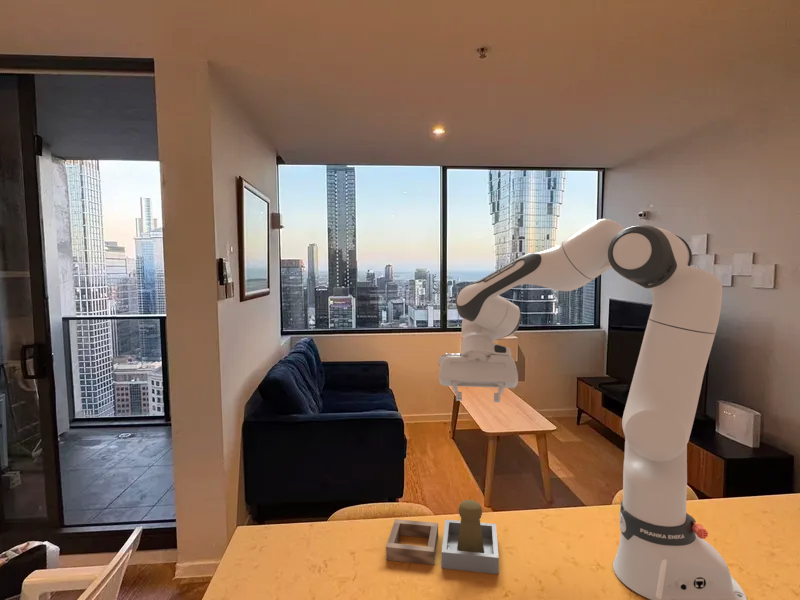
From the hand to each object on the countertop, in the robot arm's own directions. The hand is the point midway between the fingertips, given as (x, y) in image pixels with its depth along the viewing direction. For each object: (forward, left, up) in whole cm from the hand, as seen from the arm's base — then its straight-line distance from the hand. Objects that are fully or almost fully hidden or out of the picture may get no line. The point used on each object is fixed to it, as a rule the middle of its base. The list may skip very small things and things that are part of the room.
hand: (477, 400), depth 104 cm
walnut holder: (+15, +12, -31) cm, 37 cm away
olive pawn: (+2, +12, -31) cm, 33 cm away
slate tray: (+2, +12, -31) cm, 34 cm away
